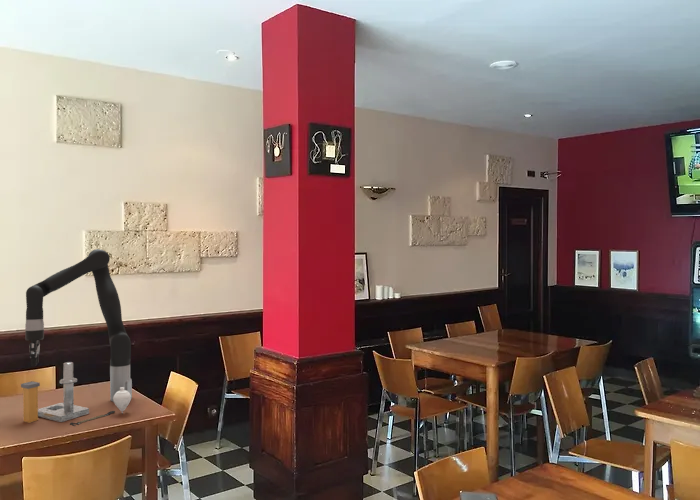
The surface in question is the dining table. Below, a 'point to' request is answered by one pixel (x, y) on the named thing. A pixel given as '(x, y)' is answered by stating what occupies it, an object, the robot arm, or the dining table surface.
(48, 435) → the dining table surface
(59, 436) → the dining table surface
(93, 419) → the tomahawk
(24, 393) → the yellow lidded box
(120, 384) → the robot arm
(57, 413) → the grey peg stand
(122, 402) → the spinning top
